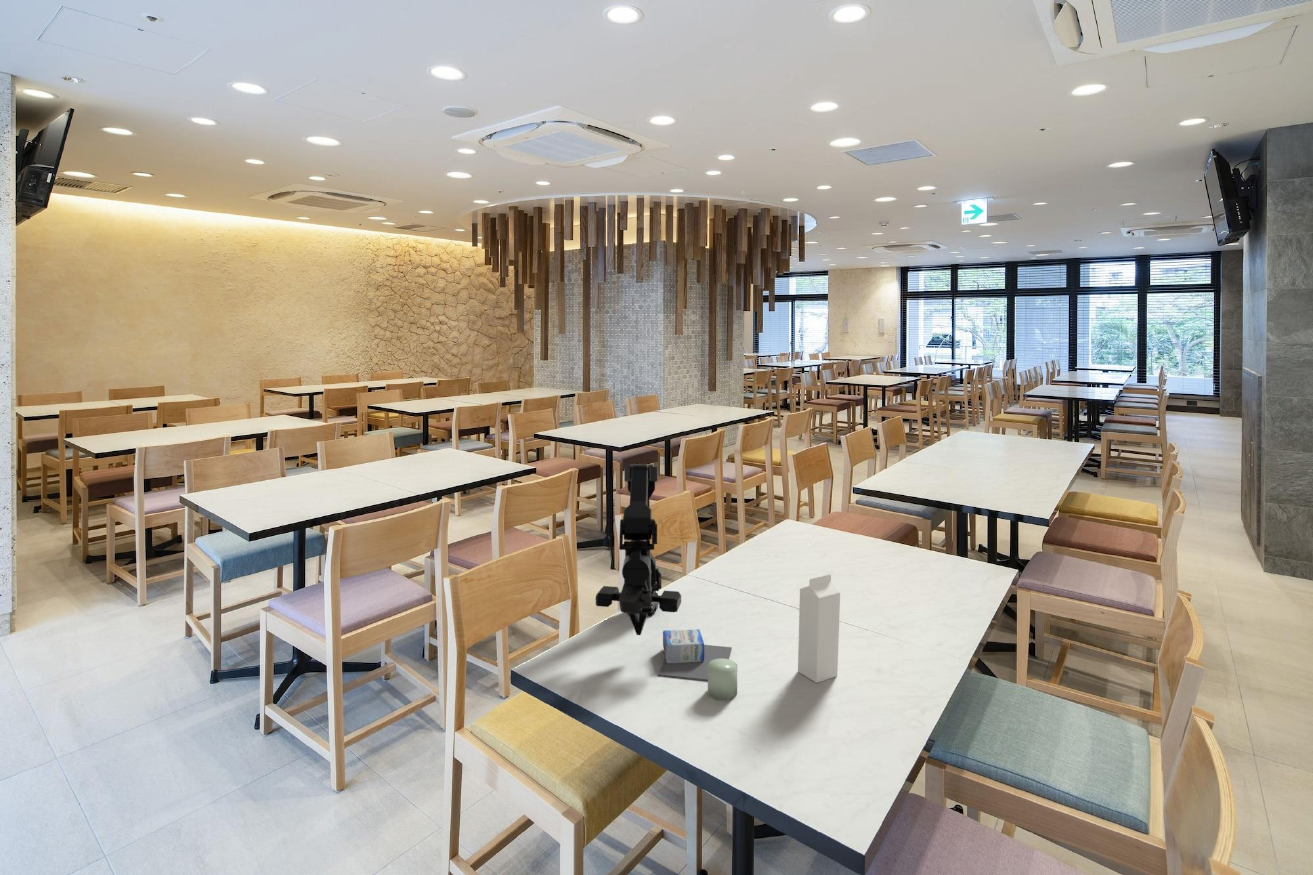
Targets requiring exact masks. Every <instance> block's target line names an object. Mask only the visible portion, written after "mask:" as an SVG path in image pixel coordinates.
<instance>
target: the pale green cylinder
mask: <svg viewBox="0 0 1313 875" xmlns="http://www.w3.org/2000/svg"><path fill="white" fill-rule="evenodd" d="M707 694H708V697H710V698H712V699H714V700H716V701H730V700H733V699H735V698H736V697H737V695H738V663H736V662H735V661H734V660H732V659H730V658H729V659H722V658H721V659H714V660H712V661H710V662H709V663H708V681H707Z"/></svg>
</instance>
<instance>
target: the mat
mask: <svg viewBox="0 0 1313 875" xmlns="http://www.w3.org/2000/svg"><path fill="white" fill-rule="evenodd" d="M704 649H705V655H704V661H702V662H686V663H666V658H664V660H663V662H662V665H661V667H660V669H659V671H658V673H657V677H658V676H659V677H666V678H667V677H668V678H674V679H675V678H676V679H677V678H678V679H685V680H686V679H687V680H696V681H704V682H705V681H706V682H708V663H709V662H710V661H712V660H714V659H721V658H722V659H729V660H730V656H731V653H732V647H731V646H720V645H710V644H704Z"/></svg>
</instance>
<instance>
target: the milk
mask: <svg viewBox="0 0 1313 875" xmlns="http://www.w3.org/2000/svg"><path fill="white" fill-rule="evenodd" d="M840 606H841V592H840V591H839V589H838V588H837V587H836V585H835V584H834V583H833V581H832V574H830V573H829V574H825V575H821V576H816V577H812V578H809V583H808V585H807V586H805V587H802V588H799V609H798V610H799V612H798V613H799V614H798V615H799V616H798V619H799V620H798V646H797V647H798V650H797V651H798V653H797V655H798V656H797V672H799V673H800V674H801V675H803V676H804V677H806V678H808V679H810V680H811V681H813V682H814V683H815V684H818V683H820V682H824V681H827V680H830V679H833V678H835V677H838V669H839V668H838V666H839V641H840V640H839V638H840V635H839V634H840V633H839V632H840V614H841V613H840V612H841V609H840V608H841V607H840Z"/></svg>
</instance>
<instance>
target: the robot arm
mask: <svg viewBox="0 0 1313 875" xmlns="http://www.w3.org/2000/svg"><path fill="white" fill-rule="evenodd" d="M623 478H624V480H623V481H624V482H625V483H627V491H628V492H629V494H630V495H629V505H628V506H626V507H625V508H624V509H623V515H622V516H623V518H621V519H620V522H619V542H618V543H619V548H618V549H619V551H621V550H622V551H624V560H623V564H622V569H621V574H622V578H623V580H624V581H623V586H622V589H621V591H620V589H619V587H618V586H611V585H609V586H608V585H607V586H606V585H603V586H602V587H601V588H600V590H599V591H598V592H597V593H596V594H595V606H596V607H603V608H604V607H605V608H609V607H610V606H611V605H612V604H613V601H614V602H618V603H619V604H618V605H619V610H620V612H621V613H625V614H627V616H628V617H629V619H630V621H631V623H632V626H633V629H634V632H635V634H636V636H641V635H642V631H643V629H644V626H645V624H646V621H647V617H652V616H654V615H655V612H656V611H657V610H658V608H659V610H661V612H666V613H677V612H678V610H679V609H680V606H681V605H682V595H681V593H680V592H679V591H677V590H663V591H662V593H661V595H659V593H658V592H659V591H660V590H661V589H662V573H661V572H660V569H659V568H657V560H656V557H655V556H654V555H653V553H652V552H651V551H653V550H655V545H658V524H657V523H656V520H655V519H654V518H653V516H652V509H651V508H650V506H651V505H650V503H651V502H650V500H651V498H652V495H653V494H654V492H655V491H656V483H658V482H659V469H658V466H654V464H653V463H649V464H648V463H644V464H643V463H641V464H640V463H639V464H634V463H633V464H632V463H631V464H629V466H625V467H624V476H623ZM623 540H624V541H623Z"/></svg>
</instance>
